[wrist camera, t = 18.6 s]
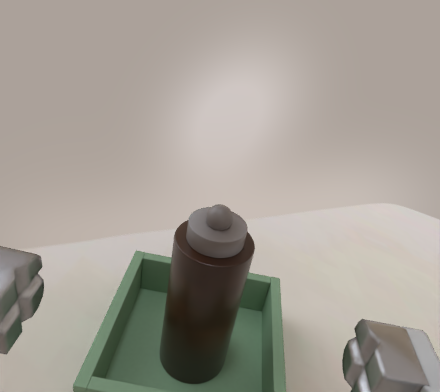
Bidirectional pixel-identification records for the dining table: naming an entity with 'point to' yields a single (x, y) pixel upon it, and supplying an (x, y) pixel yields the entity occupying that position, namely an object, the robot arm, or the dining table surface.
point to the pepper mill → (204, 293)
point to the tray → (152, 330)
